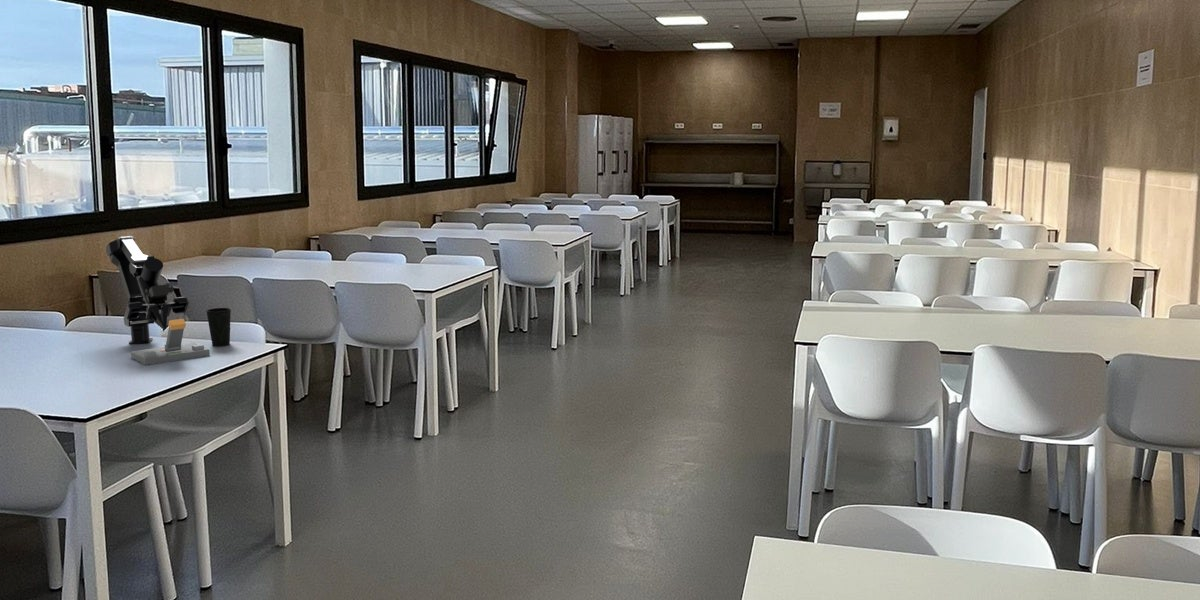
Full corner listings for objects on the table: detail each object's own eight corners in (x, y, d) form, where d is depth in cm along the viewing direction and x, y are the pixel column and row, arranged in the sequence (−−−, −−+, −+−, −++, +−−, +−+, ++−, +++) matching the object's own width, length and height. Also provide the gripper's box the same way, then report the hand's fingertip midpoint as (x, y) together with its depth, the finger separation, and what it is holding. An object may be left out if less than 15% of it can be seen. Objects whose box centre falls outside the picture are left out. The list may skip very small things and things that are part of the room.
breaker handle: (164, 348, 330) (169, 320, 323) (178, 346, 333) (183, 318, 326) (166, 353, 329) (171, 325, 322) (180, 351, 332) (185, 323, 325)
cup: (204, 345, 349) (201, 310, 347) (221, 341, 356) (219, 307, 354) (220, 348, 345) (217, 312, 343) (238, 343, 352) (235, 308, 350)
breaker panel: (131, 357, 332) (130, 347, 331) (194, 348, 345) (193, 339, 344) (145, 365, 322) (144, 355, 321) (209, 355, 334) (209, 345, 334)
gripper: (125, 278, 329) (139, 317, 323) (184, 272, 341) (199, 310, 335) (119, 299, 336) (133, 338, 330) (178, 292, 348) (192, 330, 342)
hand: (165, 328), depth 334 cm, fingers closed
